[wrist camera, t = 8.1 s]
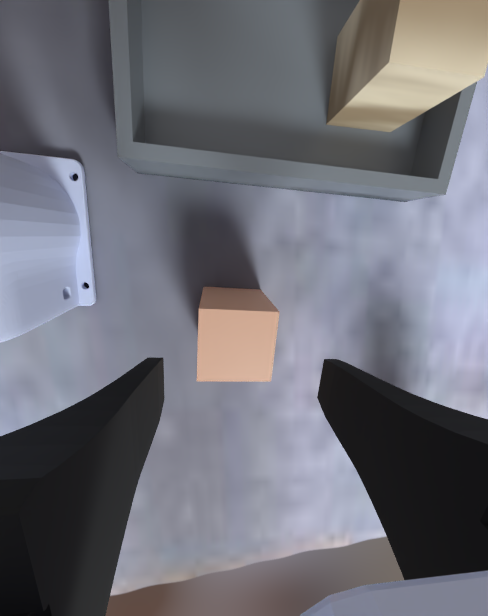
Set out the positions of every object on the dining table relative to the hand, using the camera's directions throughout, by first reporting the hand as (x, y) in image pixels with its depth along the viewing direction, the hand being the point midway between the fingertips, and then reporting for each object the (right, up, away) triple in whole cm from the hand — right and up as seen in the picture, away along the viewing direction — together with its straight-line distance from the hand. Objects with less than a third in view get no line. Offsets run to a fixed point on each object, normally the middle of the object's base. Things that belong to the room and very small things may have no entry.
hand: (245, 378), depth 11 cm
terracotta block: (-1, +3, +9) cm, 10 cm away
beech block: (+8, +17, +5) cm, 19 cm away
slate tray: (+3, +18, +5) cm, 19 cm away
